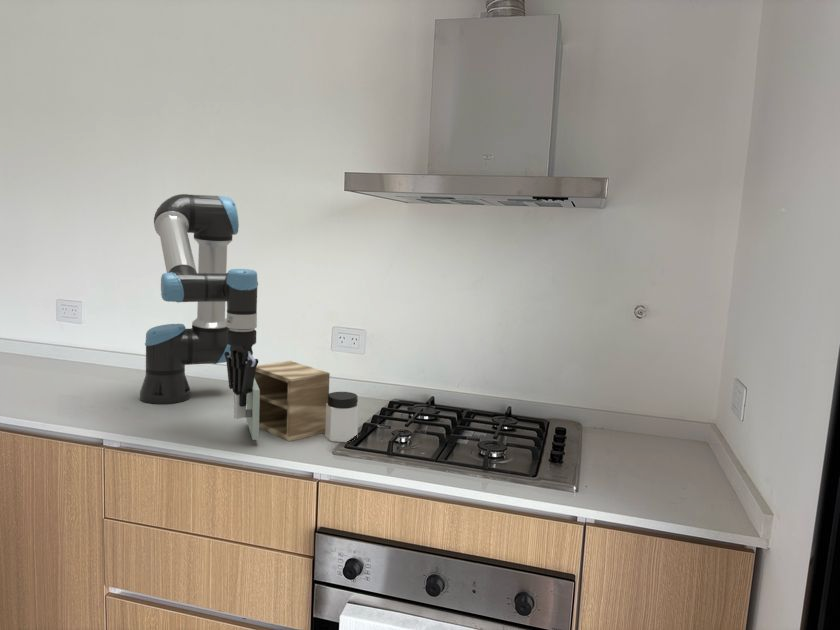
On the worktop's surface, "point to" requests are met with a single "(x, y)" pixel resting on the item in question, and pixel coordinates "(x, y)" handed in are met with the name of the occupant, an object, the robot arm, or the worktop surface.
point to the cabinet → (292, 399)
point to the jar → (341, 416)
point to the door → (253, 411)
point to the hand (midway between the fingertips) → (240, 417)
